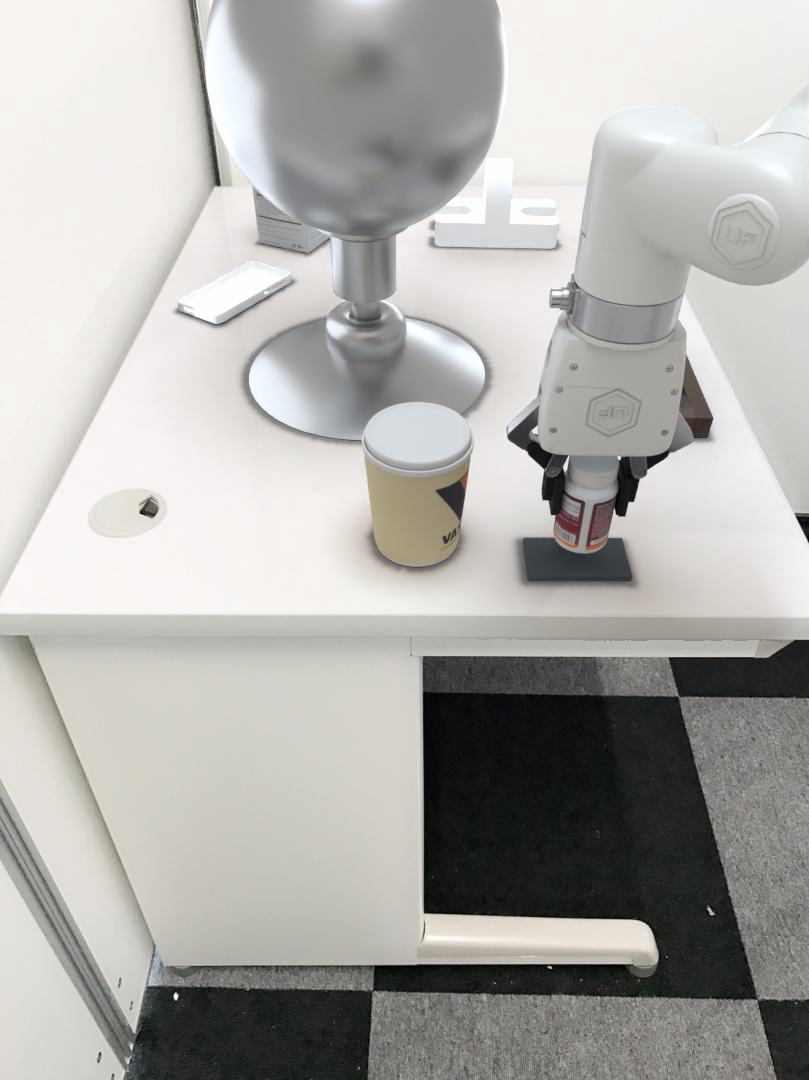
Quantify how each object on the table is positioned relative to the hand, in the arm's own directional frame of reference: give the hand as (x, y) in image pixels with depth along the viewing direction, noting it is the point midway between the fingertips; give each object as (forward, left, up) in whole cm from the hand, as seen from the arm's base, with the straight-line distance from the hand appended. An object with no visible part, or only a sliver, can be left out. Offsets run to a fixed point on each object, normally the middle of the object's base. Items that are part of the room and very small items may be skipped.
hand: (585, 503), depth 71 cm
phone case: (+54, -33, -7) cm, 64 cm away
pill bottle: (0, 0, -4) cm, 4 cm away
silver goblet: (+30, -22, -7) cm, 38 cm away
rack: (-1, -31, -7) cm, 31 cm away
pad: (0, 0, -7) cm, 7 cm away
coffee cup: (+14, +3, -7) cm, 16 cm away
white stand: (+28, -66, -7) cm, 72 cm away
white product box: (+55, -53, -7) cm, 77 cm away
